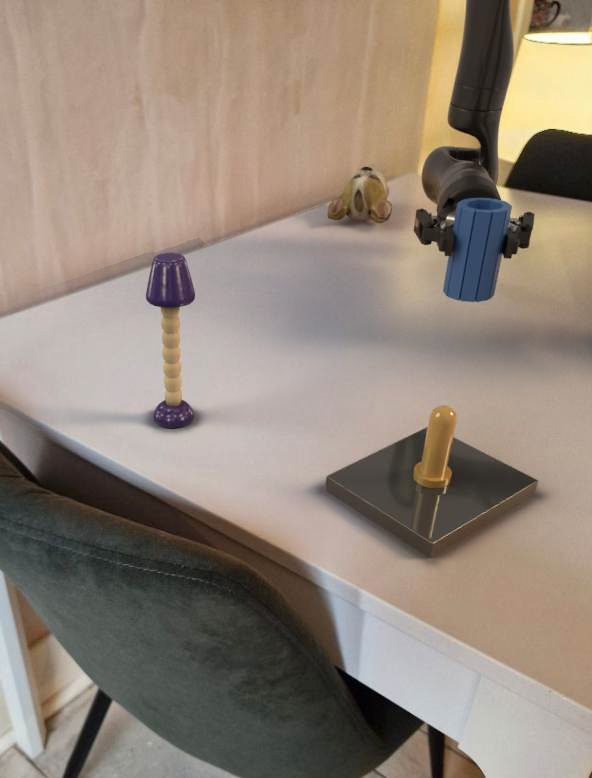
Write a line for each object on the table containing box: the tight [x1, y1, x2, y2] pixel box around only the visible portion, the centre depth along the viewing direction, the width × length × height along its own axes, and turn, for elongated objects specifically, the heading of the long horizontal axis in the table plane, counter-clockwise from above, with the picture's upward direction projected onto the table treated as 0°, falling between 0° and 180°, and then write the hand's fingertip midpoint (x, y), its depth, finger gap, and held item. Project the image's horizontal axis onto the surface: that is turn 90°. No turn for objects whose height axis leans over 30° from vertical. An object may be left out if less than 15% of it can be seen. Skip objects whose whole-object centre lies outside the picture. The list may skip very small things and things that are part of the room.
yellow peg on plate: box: [324, 404, 539, 558], centre depth 65 cm, size 14×12×9 cm
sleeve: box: [442, 198, 513, 303], centre depth 87 cm, size 6×6×10 cm
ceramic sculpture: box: [326, 163, 393, 224], centre depth 130 cm, size 11×9×15 cm
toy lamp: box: [145, 252, 196, 429], centre depth 74 cm, size 5×5×17 cm
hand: (479, 248), depth 84 cm, fingers closed on sleeve, 5 cm apart
